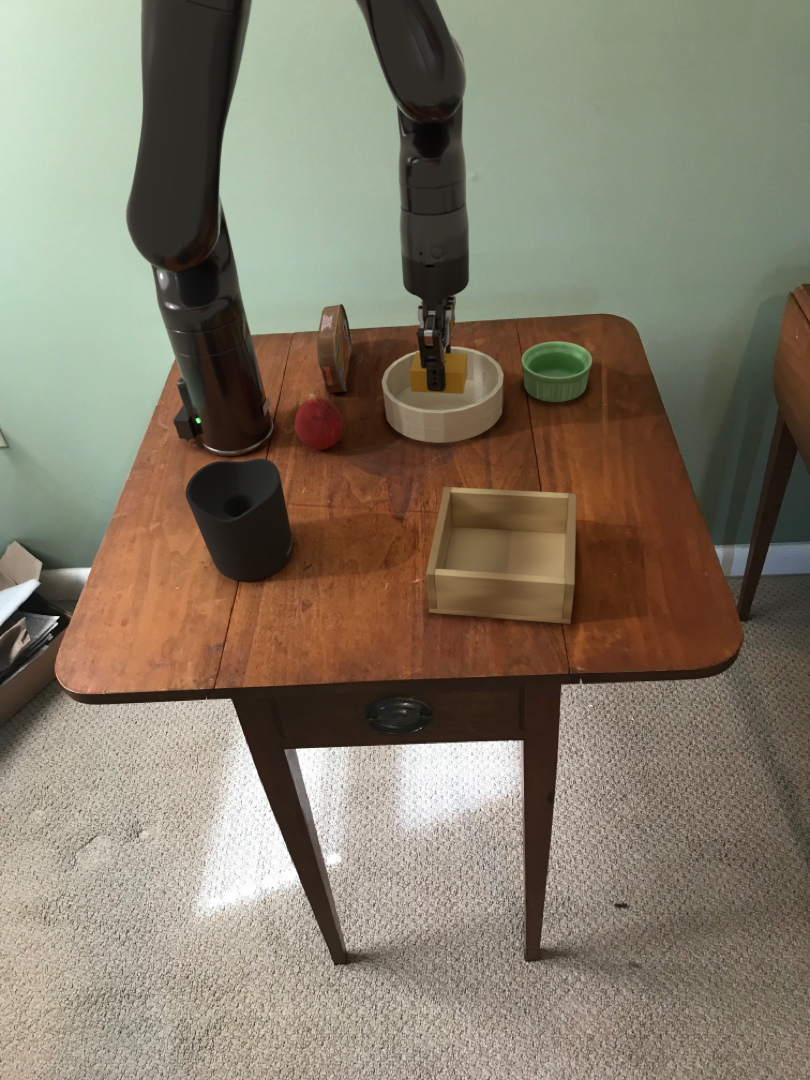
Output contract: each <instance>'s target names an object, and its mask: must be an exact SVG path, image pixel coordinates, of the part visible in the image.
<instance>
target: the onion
mask: <svg viewBox="0 0 810 1080" xmlns="http://www.w3.org/2000/svg"><path fill="white" fill-rule="evenodd" d="M343 423H344V421H343V416H342V413H341V412H340V410H339V409H338V408H337V406H335V405H334V403H332V402H331V401H330V400H328V399H326V398H322V397H319V396H317V395H316V393H313V392H310V393H308V399H307V400H306V401H305V402H304V403H303V404H301V406H300V407H299V409H297V411H296V414H295V420H294V430H295V432H296V434H297V437H298V438H299V440H300V441H301V442H302V443H303V444H304V445H306V446H307V447H309V448H311V449H315V450H318V451H324V450H327V449H329V448H331V447H332V446H334V445H335V444H336V443H338V441H339V440H340V438H341V437H342V434H343V432H344V424H343Z"/></svg>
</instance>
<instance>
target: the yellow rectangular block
mask: <svg viewBox="0 0 810 1080" xmlns="http://www.w3.org/2000/svg"><path fill="white" fill-rule="evenodd" d="M415 352H416V351H415ZM410 377H411V391H412V392H433V393H455V394H463V392H464V387H465V383H466V378H467V354H455V353H446V363H445V379H446V387H445V390H444V391H442V392H440V391H429V390H428V389H427V372H426V369H422V367H421V360H420V352H416V354H415V357H414V361H413V364H412V367H411V370H410Z"/></svg>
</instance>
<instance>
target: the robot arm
mask: <svg viewBox="0 0 810 1080" xmlns="http://www.w3.org/2000/svg"><path fill="white" fill-rule="evenodd" d="M354 1H355V4H356V5H357V7H358V9H359V11H360V13H361V16H362V18H363V20H364V22H365V25H366V28H367V31H368V34H369V38H370V40H371V43H372V46H373V49H374V52H375V55H376V57H377V61H378V63H379V67H380V69H381V72H382V74H383V77H384V79H385V82H386V84H387V88H388V89H389V92H390V94H391V95H392V98H393V101H394V102H395V105H396V113H397V124H398V133H399V134H398V135H399V152H398V163H397V164H398V168H397V170H398V171H397V172H398V189H399V191H398V192H399V205H400V206H399V207H400V209H399V210H400V211H399V213H400V214H399V239H400V240H399V241H400V256H401V271H402V284H403V287H404V289H405V290H406V292H408V293H409V294H411V295H413V296H416V297H417V298H419V299H420V300H421V302H420V303H421V304H418V306H417V320H418V322H419V327H418V328H417V331H416V337H417V343H418V344H417V345H418V351H419V352H420V360H421V367H422V369H426V372H427V389H428V390H429V391H440V392H442V391H444V390H445V387H446V379H445V363H446V353H451V347H452V340H453V338H454V332H453V329H454V328H455V325H456V313H455V312H456V311H455V310H456V304H457V300H456V299H457V298H456V295H457V294H459V293H461V292H462V291H464V290H465V289H466V288H467V286H468V285H469V282H470V227H469V226H470V225H469V213H468V207H467V167H466V165H467V164H466V157H465V156H466V155H465V149H464V143H463V126H464V125H463V122H464V121H463V119H464V96H465V93H466V88H467V87H466V86H467V72H466V65H465V58H464V53H463V51H462V48H461V45H460V44H459V42H458V40H457V39H456V37H455V36H454V35H452V33H450V30H449V28H448V27H449V26H448V25H447V22H446V21H445V17H444V15H443V13H442V11H441V8H440V6H439V4H438V1H437V0H354ZM252 5H253V0H141V6H140V7H141V9H140V62H141V64H140V65H141V89H142V91H141V93H142V112H141V127H140V137H139V141H138V149H137V155H136V162H135V167H134V173H133V178H132V184H131V187H130V191H129V195H128V198H127V202H126V208H125V223H126V227H127V231H128V234H129V236H130V239H131V241H132V243H133V245H134V247H135V248H136V250H137V251H138V253H139V254H140V255H141V257H143V259H144V260H146V261H147V262H148V263H149V264H150V267H151V270H152V276H153V281H154V287H155V296H156V303H157V306H158V310H159V313H160V315H161V318H162V321H163V324H164V327H165V330H166V334H167V337H168V341H169V343H170V347H171V349H172V352H173V355H174V359H175V362H176V364H177V368H178V371H179V374H180V377H179V379H178V380H177V382H176V387H177V390H178V393H179V394H178V395H179V397H180V399H181V403H182V406H181V407H180V409H179V411H178V412H177V414H176V415H175V416H174V418H173V420H172V422H173V424H174V427H175V430H176V432H177V433H176V434H177V435H178V438H179V439H180V440H186V441H187V442H189V441H190V440H194V442H195V445H196V447H197V448H204V449H205V450H206V451H207V452H209V453H211V454H212V455H216V456H220V457H221V456H222V457H237V456H243V455H246V454H249V453H252V452H255V451H256V450H258V449H260V448H262V447H264V446H265V445H266V444H267V443H268V442H269V441H270V440H271V438H273V435H274V432H275V426H274V421H273V418H272V416H271V412H270V405H271V400H270V396H269V395H266V392H265V391H266V390H265V387H264V383H263V379H262V375H261V371H260V367H259V363H258V359H257V354H256V351H255V346H254V342H253V338H252V334H251V329H250V326H249V321H248V317H247V314H246V310H245V305H244V301H243V297H242V292H241V285H240V278H239V273H238V269H237V263H236V258H235V255H234V250H233V246H232V241H231V235H230V232H229V228H228V223H227V219H226V215H225V210H224V207H223V202H222V198H221V196H220V195H221V194H220V185H221V183H220V182H221V166H222V165H221V163H222V151H223V142H224V135H225V130H226V125H227V120H228V117H229V112H230V109H231V105H232V102H233V97H234V95H235V94H234V93H235V89H236V85H237V81H238V77H239V73H240V68H241V63H242V59H243V55H244V54H243V53H244V50H245V44H246V40H247V35H248V29H249V24H250V19H251V11H252Z"/></svg>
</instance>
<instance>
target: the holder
mask: <svg viewBox="0 0 810 1080" xmlns="http://www.w3.org/2000/svg"><path fill="white" fill-rule="evenodd" d="M577 499H578V498H577V493H568V492H554V491H552V492H550V491H536V490H535V491H532V490H514V489H495V488H474V487H454V486H453V487H451V486H444V487H443V490H442V495H441V501H440V505H439V510H438V515H437V519H436V524H435V529H434V533H433V538H432V543H431V549H430V553H429V557H428V562H427V567H426V572H425V577H426V589H427V598H428V599H427V601H428V611H429V613H430V614H439V615H440V614H442V615H453V616H465V617H478V618H491V619H501V620H515V621H516V620H517V621H528V622H540V623H541V622H542V623H552V624H565V625H567V624H568V625H570V624H571V623H572V614H573V605H574V596H575V586H576V548H577V547H576V544H577V543H576V541H577V540H576V539H577V501H578V500H577Z"/></svg>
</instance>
